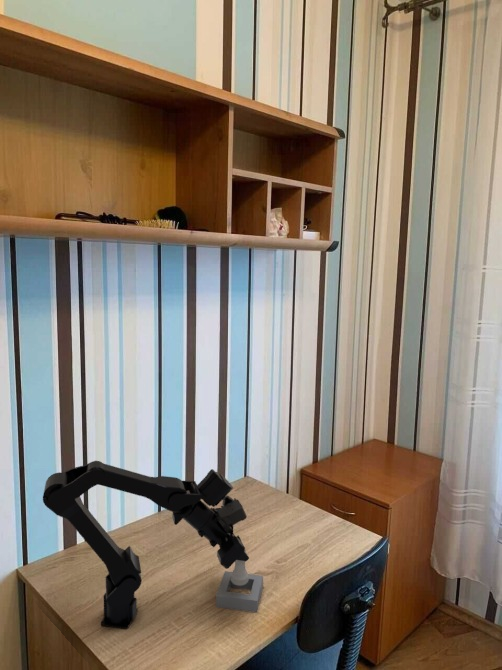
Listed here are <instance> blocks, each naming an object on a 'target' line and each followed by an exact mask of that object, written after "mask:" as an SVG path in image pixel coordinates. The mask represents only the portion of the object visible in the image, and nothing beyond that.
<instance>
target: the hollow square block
mask: <svg viewBox="0 0 502 670" xmlns="http://www.w3.org/2000/svg"><path fill="white" fill-rule="evenodd" d="M232 572H233V571H227V570H224V572H223V575H222V579H221V581H220V584H219V587H218V589H217V592H216V595H215V608H221V609H228V610H233V611H234V610H235V611H242V612H249V613H258V610H259V605H260V601H261V597H262V592H263V587H264V576H263V575H260V574H252V573H248V579H249V580H248V582H247V583H246V584H245V585H243V586H237V585H234V584H233V583H232V582H231V574H232ZM231 589H241V590H246V591H250V594H249V593H241V592H240V593H239V592H234V591H233V592H232V591H231Z"/></svg>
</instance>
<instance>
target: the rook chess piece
mask: <svg viewBox="0 0 502 670" xmlns="http://www.w3.org/2000/svg"><path fill="white" fill-rule="evenodd" d="M245 553H246V554H247V552H246V550H245ZM247 555H248V554H247ZM246 562H247V561H240V560H236V561H235V562H234V568H233V570H232V571H231V572H232V574H231V582H232V583H233V584H234V585H237V586H243V585H245V584H246V583H247V582H248V580H249V579H248V574H249V573H248V572H247V571H248V570H247V569H246Z"/></svg>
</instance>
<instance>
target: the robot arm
mask: <svg viewBox="0 0 502 670" xmlns="http://www.w3.org/2000/svg"><path fill="white" fill-rule="evenodd" d="M97 485H98V486H103V487H106V488H110V489H113V490H118V491H120V492H125V493H127V494H128V493H129V494H132V495H136V496H139V497H143V498H146V499H149V501H152V502H153V503H154V504H156V505H157V506H159V507H161V508H163V509H164V510H167V511H169V512H172V515H171V517H172V518H171V519H172V522H173V524H174V525H175V526H177V525H178V524H179V523H180V522H181V521H182V520H184V521H185V522H186V523H187V524H188V525H190V526H191V527H192V528H193V529H195V531H197V534H198V536H199V537H200V538H203V537H204V538H205V539H206V540H207V541H208V542H209V544H210V546H212V547H213V548H215V547H216V546H217V545H218V546H219V549H217V551H216V553H217V555H216V557H217V558H218V561H219V564H220V565H221V566H222V567H223V568H225V569H226V570H227V569H228V570H229V569H230V567H231V566H232V565H233V564H235V561H236V560H240V561H246V562H247V561H248V560H249V559H250V557H249V556H248V554H246V553H247V552H246V553H245V551H246V547H245V544H244V543H243V541H242V540H241V538H240V535H238V534H237V535H235V533H234V525H236V524H238V523H239V522H241V521H242V522H243V521H244V520H246V519H247V516H248V515H247V514H246V512H245V509H244V508H243V505H242V503H241V502H240V500H239V499H236V497H234V498H232V497H231V496H229V494H230V492H231V491H232V490H233V489H234V486H233V485H232V484H231V482H229V480H228V479H227V478H226V477H225V476H224V475H223V474H221V473H220V472H218V471H216V470H215V469H210V471H208V472H207V474H206V475H205V476H204V478H202V480H201V481H200V482H199V483H198V484H197V482H196V481H195V480H182V479H180V478H178V477H175V476H167V475H161V476H148V475H146V474H142V473H138V472H135V471H131V470H128V469H123V468H120V467H117V466H114V465H110V464H107V463H104V462H102V461H101V460H94V461H93V460H92V461H91V462H89V463H86V464H84V465H80V466H76V467H72V468H70V469H68V470H66V471H64V472H59V471H58V472H55V473H53V474H51V475H50V476H49V477H47V479H46V481H45V484H44V490H43V495H42V502H43V504H44V506H45V507H46V508H47V509H49V511H51V512H52V513H53V514H55V515H56V516H58V517H60V518H63V519H65V520H67V521H68V522H69V523H70V524H71V526H72V527H73V528H74V529H75V530H76V532H78V534H79V535H80V536H81V537H82V538H83V540H84V541H85V543H87V544H88V546H89V547H90V548H91V549H92V550H93V552H94V553H95V554H96V555H97V557H98V558H99V559H100V560H101V562H102V563H103V564H104V565H105V567H106V570H107V572H108V574H107V575H106V576H105V577H104V578H105V593H104V595H103V618H102V620H101V621H100V626H102V625H104V626H105V627H108V628H109V627H110V628H117V629H118V628H119V629H125V630H127V629H128V628H129V627H130V625H131V623H132V622H133V621H134V619H135V618H136V616H137V613H138V608H137V607H138V606H137V603H138V602H137V601H138V600H137V598H136V596H135V592H137V590H139V589H140V588H141V585H142V580H143V579H142V574H141V573H142V570H141V568H142V567H141V561H140V556H139V555H137V554H135V553H134V551H133V549H132V547H131V546H130V545H128V547H126V548H125V549H124V548H122V547H120V546H118V545H117V544H116V542H115V541H114V539H112V537H111V536H110V535H109V534H108V532H106V530H105V529H104V528H103V526H102V525H101V524H100V523H99V521H98V520H97V519H96V518H95V516H94V515H93V514H92V513H91V511H90V510H89V508H87V506H86V505H85V504H84V503H83V500H82V498H81V496H82V495H84V494H86V492H88V491H89V490H90V489H92V488H93V487H94V488H95V486H97ZM188 492H189V493H188ZM221 502H222V504H221V506H220V507H217V506H218V505H219V504H220V503H221ZM211 506H212V507H211ZM210 507H211V508H210ZM104 626H103V627H104Z"/></svg>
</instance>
